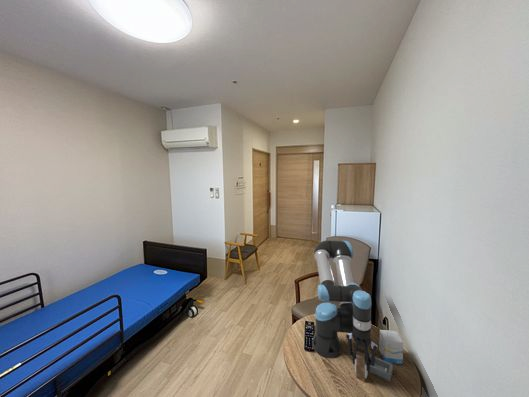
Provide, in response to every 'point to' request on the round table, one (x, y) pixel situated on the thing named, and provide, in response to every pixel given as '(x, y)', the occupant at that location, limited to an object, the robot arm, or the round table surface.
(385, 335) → the ink box
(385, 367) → the grey tray with pegs
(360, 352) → the wooden beam
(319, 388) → the round table surface
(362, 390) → the round table surface
